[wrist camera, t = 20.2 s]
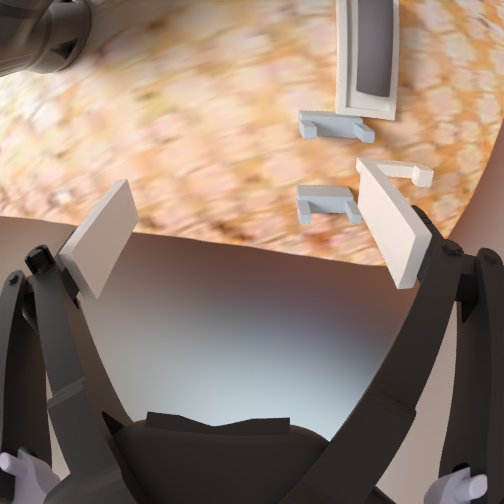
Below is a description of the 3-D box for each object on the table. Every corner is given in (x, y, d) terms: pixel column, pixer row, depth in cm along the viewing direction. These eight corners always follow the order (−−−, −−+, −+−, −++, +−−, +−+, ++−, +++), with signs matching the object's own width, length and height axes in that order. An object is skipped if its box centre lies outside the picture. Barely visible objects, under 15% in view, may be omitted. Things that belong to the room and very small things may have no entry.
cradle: (296, 110, 39) (304, 122, 33) (356, 114, 39) (375, 127, 32) (294, 200, 49) (299, 227, 43) (347, 201, 49) (360, 227, 42)
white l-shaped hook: (357, 154, 34) (366, 164, 31) (422, 161, 33) (434, 171, 31) (355, 171, 35) (363, 182, 33) (419, 176, 35) (430, 187, 32)
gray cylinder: (352, -7, 25) (365, -12, 21) (384, -1, 25) (399, -3, 21) (351, 88, 35) (363, 94, 32) (380, 92, 35) (395, 98, 32)
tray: (334, -11, 26) (337, -14, 25) (394, 1, 25) (398, -1, 24) (335, 112, 39) (337, 114, 38) (390, 118, 38) (394, 120, 37)
